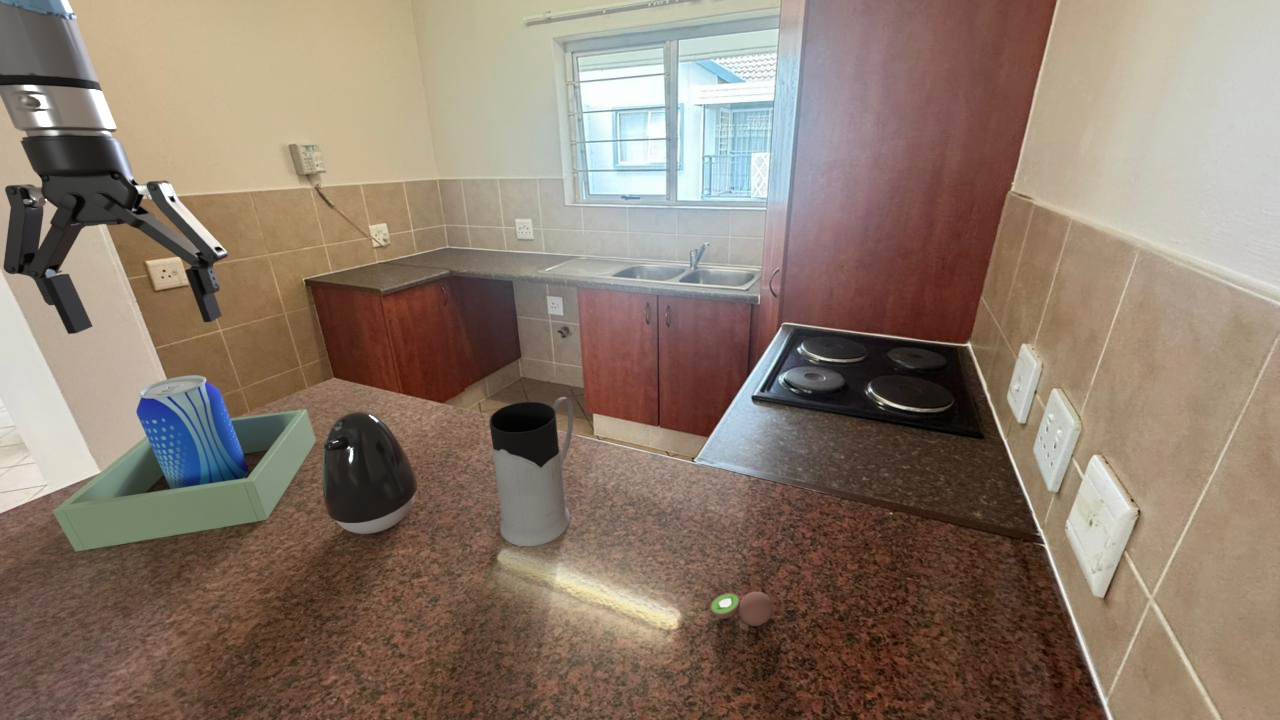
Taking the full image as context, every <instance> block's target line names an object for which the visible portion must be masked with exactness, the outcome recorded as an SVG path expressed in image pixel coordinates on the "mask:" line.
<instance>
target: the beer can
mask: <svg viewBox="0 0 1280 720" xmlns="http://www.w3.org/2000/svg"><path fill="white" fill-rule="evenodd" d="M138 394H139V397H140V400H139V403H138V405H137V408H136V410H135V411H136V416H137V418H138V420H139V422H140V424H141V427H142V429H143V431H144V434H145V435H146V436H147V438H148V440H149V442H150V444H151V447H152V449H153V451H154V453H155V456H156V458H157V460H158V462H159V464H160V467H161V469H162V471H163V473H164V475H163V477H164V478H165V480H166V483H167V484H168V487H169V490H170V489H176V488H183V487H190V486H197V485H203V484H210V483H217V482H224V481H230V480H237V479H244V478H246V476H247V475H248V473H249V470H250V469H249V466H248V463H247V460H246V458H245V454H243V452H242V449H241V447H240V444H239V441H238V439H237V436H236V433H235V430H234V428H233V425H232V422H231V420H230V418H231V417H230V415H229V411H228V409H227V406H226V404H225V401H224V399H223V396H222V393H221V391H220V390H219V389H218V388H217V387H215V386H214V385H213V384H211V383H210V382H208V381H207V378H206V377H205V376H203V375H199V374H198V375H197V374H193V375H182V376H176V377H172V378H171V377H170V378H166V379H164V380H161V381H158V382H155V383H152V384H149V385H147V386H145V387H143V388H142V389H141V390H140V391H139V393H138Z"/></svg>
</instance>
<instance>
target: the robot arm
mask: <svg viewBox="0 0 1280 720" xmlns="http://www.w3.org/2000/svg"><path fill="white" fill-rule="evenodd" d="M77 18H78V16H77V14H76V13H74V11H73V9H72V7H71V3H69V0H0V98H1V100H2V101H1V102H2V103H3V105H4V106H5V109H6V111H7V114H8V116H9V118H10V121H11V123H12V125H13V127H14V129H16V130H18V131H20V132H25V134H26V136H24V137H21V139H22V140H20V141H19V142H20V144H21V147H22V148H23V151H24V153H25V155H26V157H27V159H28V162H29V164H30V166H31V169H32V170H33V172H34V173H36V175H38V177H39V178H40V180H41V186H35V185H33V184H9V185H7V186H5V188H4V191H5V194H6V197H7V200H8V204H9V206H10V211H9V219H8V227H7V234H6V243H5V252H4V259H3V265H2V266H3V270H4V271H5V272H6V273H7V274H9V275H17V274H18V275H21V276H22V275H23V276H27V277H30V278H31V279H33V282H35V284H36V287H37V288H38V290H39V293H40V295H41V296H42V299H43V302H44V303H46V304H47V305H48V306H54V307H55V310H56V311H57V313H58V315H59V318H60V320H61V322H62V324H63V326H64V328H65V331H66V332H67V334H68V335H72V334H74V335H75V334H78V333H81V332H83V331H86V330H88V329H90V328H92V327H94V325H93V324H92V322H91V319H90V317H89V314H88V313H87V311H86V308H85V306H84V304H83V302H82V300H81V298H80V295H79V294H78V291H77V289H76V286H75V284H74V282H73V280H72V278H71V276H70V274H69V273H62V272H63V270H62V269H61V267H62V265H63V263H64V262H65V260H66V258H67V256H68V254H69V252H70V251H71V249H72V247H73V246H74V243H75V241H76V240H77V239H78V236H79V234H80V233H81V232H82V229H84V228H85V227H94V226H101V225H108V226H119V225H124V224H125V225H126V224H127V226H130V227H131V228H134V229H137V230H139V231H140V232H142V233H143V234H144V235H147V236H148V237H149V238H150V239H152V240H153V241H155V242H156V243H158V244H159V245H161V246H162V247H163V248H165V249H166V250H167V251H169V252H171V253H172V254H173V255H175V256H176V257H178V258H179V259H181V260H183V261H184V262H185V263H187V264H188V265H189V266H190V267H189V268H187V269H185V270H184V271H185V275H186V277H187V279H188V282H189V285H190V288H191V291H192V293H193V296H194V299H195V302H196V304H197V307H198V309H199V312H200V315H201V318H202V321H203V323H212V322H214V321H216V320H217V319H219V318H220V317H221V318H222V316H223V314H222V312H221V309H220V306H219V304H218V301H217V297H216V294H215V293H217V292H219V291H220V288H221V287H220V286H221V285H220V282H219V280H218V277H217V275H216V272H215V269H214V265H215V263H217V262H219V261H221V260H225V259H226V258H228V255H229V252H228V251H227V250H226V249H225V248H224V247H223V246H222V244H221V243H220V242H219V241H218V240H217V239H216V238H215V236H213V234H212V233H210V232H209V231H208V229H207V228H206V227H204V225H203V224H202V223H201V222H200V220H198V219H197V217H195V216H194V214H192V212H191V211H190V210H189V209H188V208H187V207H186V206H185V204H183V203H182V201H180V200H179V198H178V196H177V194H176V191H175V189H174V187H173V185H172V184H171V182H169V181H167V180H151V181H148V182H146V183H142V184H140V183H139V182H138V181H136V180H135V178H134V175H133V168H132V165H131V163H130V160H129V157H128V154H127V152H126V149H125V147H124V144H123V141H122V140H119V138H118V137H113V135H112V133H116V132H117V130H118V127H117V125H116V122H115V120H114V118H113V115H112V113H111V110H110V107H109V104H108V101H107V100H106V98H105V95H104V92H103V90H102V87H101V85H100V82H99V78H98V76H97V73H96V71H95V68H94V65H93V62H92V59H91V57H90V54H89V51H88V49H87V45H86V43H85V41H84V38H83V35H82V32H81V30H80V26H79V24H78V21H77V20H78V19H77ZM144 197H145V198H146V199H147V200H148V201H150V202H151V203H154V204H155V205H156V207H157V208H158V209H159V210H160V212H161V213H163V215H164V216H165V217H166V218H167V219H168V220H169V221H170V222H171V223H172V224H173V225H174V226H175V227H176V228H177V229H178V230H179V231H180V232H181V233H182V235H181V234H180V233H178V232H177V231H175V230H174V229H172V228H171V227H169V225H167V224H165V223H164V222H162V221H161V220H160V219H158V217H157V215H156V214H154V213H153V212H152V211H151V210H149V209H147V208H146V207H145V206H143V205H142V204H141V203H142V201H143V199H144ZM47 202H49V203H50V204H51V205H52V206H54V207H55V208H57V209H56V210H55V212H54V214H53V216H52V217H51V220H50V222H49V224H50V228H49V230H48V231H47V233H46V235H45V237H44V239H43V240H42V242H41V241H40V240H41V234H42V227H43V221H44V220H43V219H44V206H45V205H46V203H47ZM183 235H184V236H185V237H184V236H183ZM40 243H41V244H40ZM60 269H61V270H60Z"/></svg>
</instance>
